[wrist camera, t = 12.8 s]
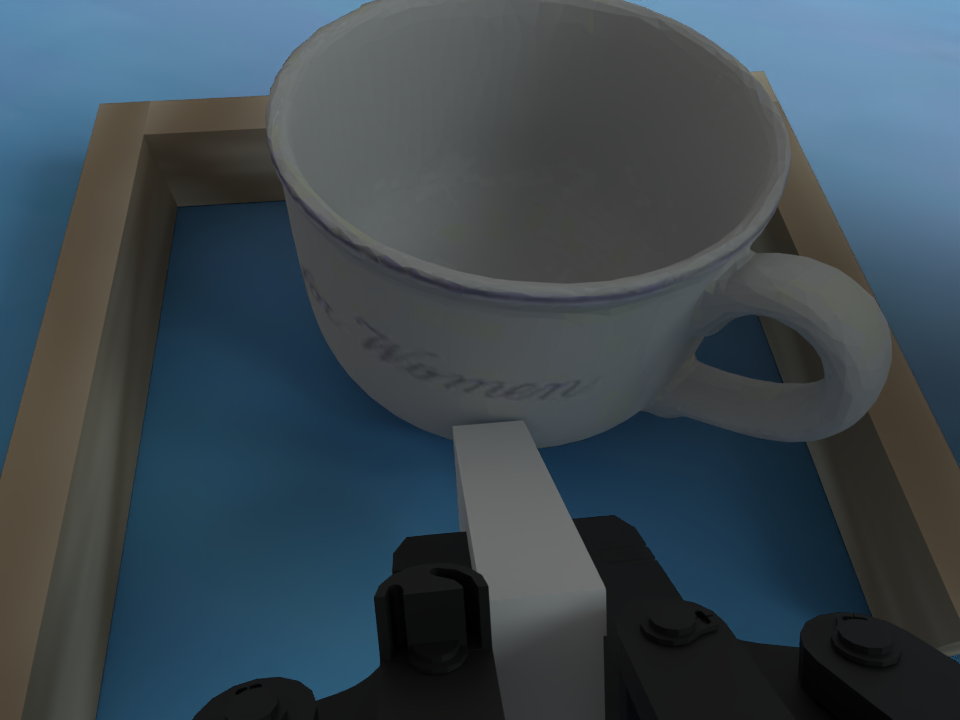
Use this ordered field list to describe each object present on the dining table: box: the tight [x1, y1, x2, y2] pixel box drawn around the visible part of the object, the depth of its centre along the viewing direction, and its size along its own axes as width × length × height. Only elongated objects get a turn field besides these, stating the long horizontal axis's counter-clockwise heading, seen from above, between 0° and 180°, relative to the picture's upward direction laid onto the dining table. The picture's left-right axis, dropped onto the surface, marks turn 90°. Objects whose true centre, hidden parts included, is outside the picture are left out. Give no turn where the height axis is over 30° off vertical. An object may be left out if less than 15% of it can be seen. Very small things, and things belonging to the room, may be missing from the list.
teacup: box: [265, 0, 892, 448], centre depth 17 cm, size 14×11×8 cm
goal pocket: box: [0, 71, 960, 720], centre depth 19 cm, size 21×18×3 cm
